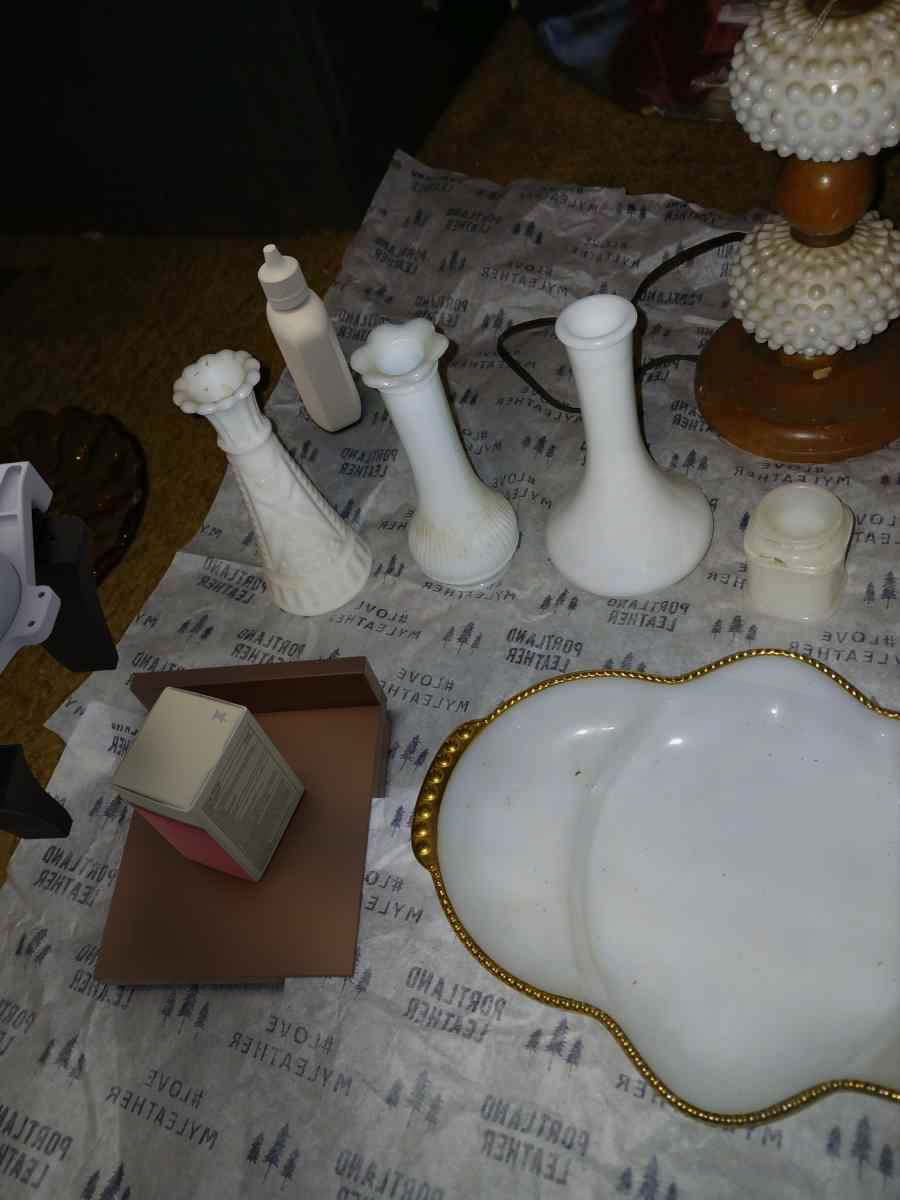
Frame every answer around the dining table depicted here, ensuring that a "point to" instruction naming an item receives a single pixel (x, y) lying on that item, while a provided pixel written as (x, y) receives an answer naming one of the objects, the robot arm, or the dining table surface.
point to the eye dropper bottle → (308, 343)
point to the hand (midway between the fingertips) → (73, 743)
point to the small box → (209, 782)
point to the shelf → (301, 860)
